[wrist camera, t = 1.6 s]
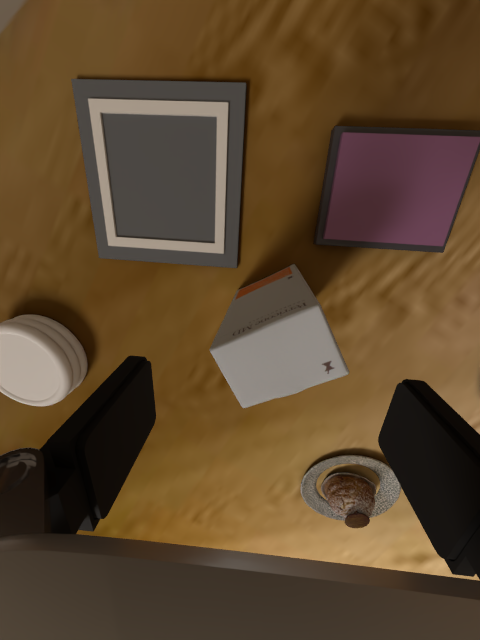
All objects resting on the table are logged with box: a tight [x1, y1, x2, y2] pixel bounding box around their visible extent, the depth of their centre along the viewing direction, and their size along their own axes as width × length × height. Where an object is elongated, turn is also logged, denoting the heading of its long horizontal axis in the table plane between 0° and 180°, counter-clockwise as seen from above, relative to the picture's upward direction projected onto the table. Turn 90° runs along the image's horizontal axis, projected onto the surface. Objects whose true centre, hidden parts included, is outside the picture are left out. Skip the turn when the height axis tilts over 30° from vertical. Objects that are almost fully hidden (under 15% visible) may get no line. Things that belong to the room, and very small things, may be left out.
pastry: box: [301, 455, 401, 528], centre depth 30 cm, size 12×12×5 cm
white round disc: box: [0, 314, 88, 406], centre depth 27 cm, size 10×10×4 cm
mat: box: [72, 79, 246, 268], centre depth 20 cm, size 13×13×1 cm
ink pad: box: [314, 126, 480, 253], centre depth 19 cm, size 10×8×2 cm
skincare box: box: [210, 264, 349, 408], centre depth 18 cm, size 6×4×12 cm
